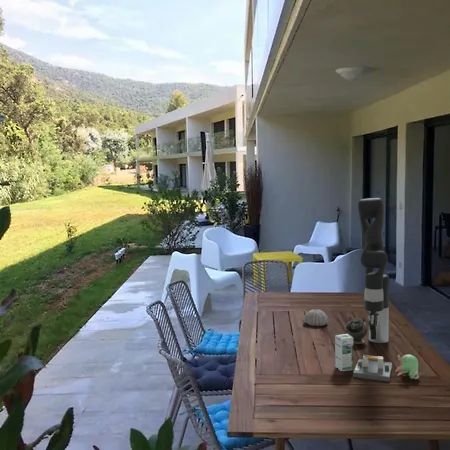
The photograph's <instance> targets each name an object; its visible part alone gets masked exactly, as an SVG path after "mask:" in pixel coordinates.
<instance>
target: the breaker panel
mask: <svg viewBox="0 0 450 450" xmlns="http://www.w3.org/2000/svg"><path fill="white" fill-rule="evenodd" d="M392 369H393V362H389V361H388V362H387V361H383V369H380V368H378V360H371V359H368V367H363V358H359V359H358V360H357V363H356V365H355V368H354V369H353V372H352V373H353V374H352V376H353V378H356V377H357V378H359V379H364V380H365V379H366V380H374V381H380V382H381V381H382V382H390V379H391V375H392V374H391V373H392Z"/></svg>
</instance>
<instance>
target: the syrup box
mask: <svg viewBox="0 0 450 450" xmlns="http://www.w3.org/2000/svg"><path fill="white" fill-rule="evenodd" d="M334 347H335V349H334V351H335V355H334V356H335V357H334V358H335V368H336V369H337V368H338V370H339V371H340V372H341V371H343V372H347V371H348V372H349V371H354V343H353V337H352V336H351V335H349V334H347V333H342V334H336V335H334Z"/></svg>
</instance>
